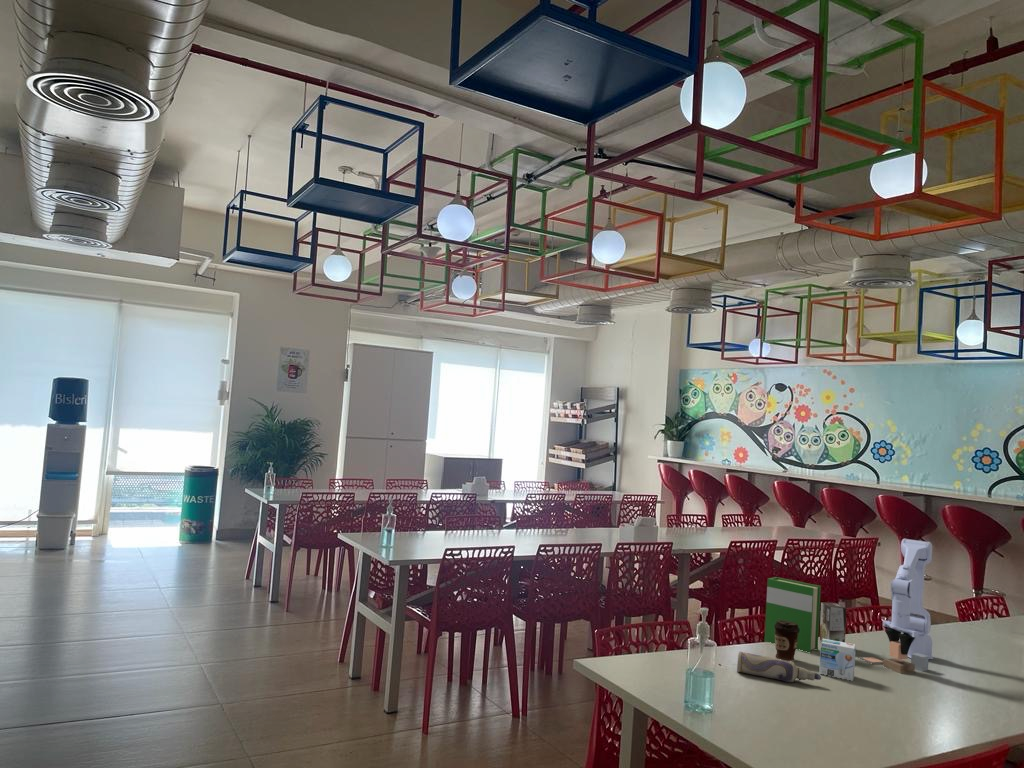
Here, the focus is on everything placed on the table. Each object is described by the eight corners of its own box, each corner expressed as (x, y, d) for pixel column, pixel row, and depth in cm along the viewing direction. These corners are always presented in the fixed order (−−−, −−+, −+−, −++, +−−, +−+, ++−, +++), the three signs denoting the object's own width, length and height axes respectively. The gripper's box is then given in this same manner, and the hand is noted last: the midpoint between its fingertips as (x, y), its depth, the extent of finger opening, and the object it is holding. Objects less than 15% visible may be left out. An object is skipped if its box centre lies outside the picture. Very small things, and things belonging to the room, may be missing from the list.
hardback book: (817, 650, 275) (820, 586, 277) (809, 653, 270) (812, 587, 272) (772, 638, 288) (775, 577, 289) (764, 641, 282) (767, 578, 284)
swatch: (873, 657, 270) (873, 656, 270) (888, 664, 263) (888, 662, 263) (858, 658, 268) (858, 656, 268) (871, 664, 262) (872, 662, 262)
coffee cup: (785, 663, 254) (787, 626, 255) (767, 656, 262) (769, 619, 262) (802, 661, 258) (804, 624, 259) (784, 654, 266) (786, 618, 266)
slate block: (916, 666, 263) (917, 652, 263) (927, 670, 260) (928, 656, 260) (910, 668, 261) (911, 654, 261) (922, 671, 257) (922, 657, 258)
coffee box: (845, 651, 277) (847, 608, 278) (828, 649, 277) (830, 606, 278) (835, 644, 286) (837, 602, 287) (818, 642, 286) (820, 601, 287)
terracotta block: (898, 655, 261) (899, 641, 261) (907, 659, 257) (907, 644, 257) (889, 655, 260) (890, 641, 260) (898, 659, 256) (898, 644, 256)
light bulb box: (818, 674, 245) (820, 642, 246) (820, 669, 251) (821, 637, 252) (853, 681, 240) (855, 648, 241) (854, 676, 246) (856, 644, 247)
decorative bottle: (735, 674, 238) (736, 654, 239) (737, 668, 245) (738, 648, 246) (820, 691, 228) (821, 669, 229) (820, 684, 235) (821, 663, 236)
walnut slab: (897, 666, 262) (897, 658, 263) (914, 673, 256) (914, 664, 256) (883, 667, 260) (883, 659, 260) (900, 674, 253) (900, 665, 254)
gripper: (876, 608, 265) (874, 646, 264) (907, 618, 251) (906, 658, 250) (892, 608, 267) (890, 646, 266) (924, 619, 253) (922, 658, 252)
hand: (899, 652), depth 258 cm, fingers closed on terracotta block, 4 cm apart
